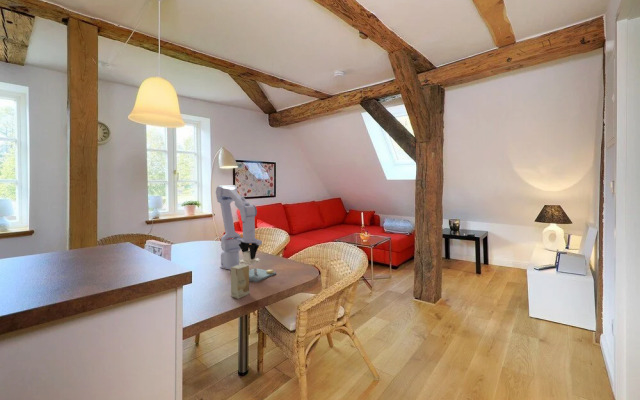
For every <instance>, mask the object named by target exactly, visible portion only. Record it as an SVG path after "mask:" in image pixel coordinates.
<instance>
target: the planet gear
mask: <svg viewBox="0 0 640 400" xmlns="http://www.w3.org/2000/svg"><path fill="white" fill-rule="evenodd" d="M242 255H243V256H242V257H243V258H242V259H241V258H240V259H239V265H240V264H245V265H249V266H250V265H255V264H256V263H260V262H261V259H260V258H258V257H257V258H256V257H255V258H254V259H251V256H250V250H248V251H246V252H242Z"/></svg>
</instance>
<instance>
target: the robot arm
mask: <svg viewBox="0 0 640 400" xmlns="http://www.w3.org/2000/svg"><path fill="white" fill-rule="evenodd" d="M215 190H216V191H215V195H216V200H217V203H219V204H220V208H221V215H222V220H223V227H224V232H225V234H223V235H222V236H221V239H220V241H221V243H220V247H221V249H222V252H221V254H220V266H219V268H221V269H225V270H230V271H231V267H234V266H236V265H240V263H239V261H240V251H241V252H242V253H243V252H246V251H250V256H251V259H254V258H256V255H257V252H258V249H259V247H260V246H261V245H262V244H263V241H262V240H261V239H257V238H256V225H255V224H256V222H255V217H257V214H258V209H257V206H256V205H255V204H251V203H249V201H248V200H247V199H246V198H245V197H244V196H243V197H242V196H241V195H240V194H239V193H238V187H237V186H236V185H235V184H232V185H231V184H230V185H217V186H216V189H215ZM233 202H234V205H235V207H236V208H237V209H238V211H239V214H240V219H241V222H242V237H241V234H239V233H237V232H236V229H235V224H234V219H233V213H232V208H231V203H233Z"/></svg>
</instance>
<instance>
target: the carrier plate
mask: <svg viewBox="0 0 640 400" xmlns="http://www.w3.org/2000/svg"><path fill="white" fill-rule="evenodd" d="M276 274H277V272H276V271H275V270H274V269H261V268H257V267H254V268H251V269H249V282H255V283H258V282H260V281H262V280H264V279H267V278H269V277H271V276H274V275H276Z"/></svg>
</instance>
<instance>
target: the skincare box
mask: <svg viewBox="0 0 640 400" xmlns="http://www.w3.org/2000/svg"><path fill="white" fill-rule="evenodd" d="M249 270H250V265H248V264H247V265H245V264H243V263H242V264H240V263H239V265H236V266H234V267H231V270H230V295H231V296H230V297H232V298H235V299H240V298H243V297H246V296H248V295H250V281H249Z"/></svg>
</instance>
